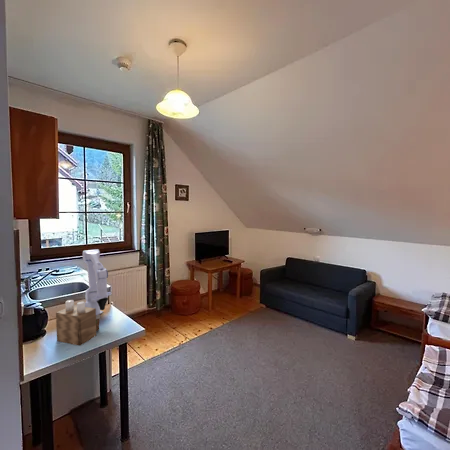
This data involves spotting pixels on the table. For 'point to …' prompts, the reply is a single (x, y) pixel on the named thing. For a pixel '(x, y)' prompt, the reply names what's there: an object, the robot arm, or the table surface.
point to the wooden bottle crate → (76, 326)
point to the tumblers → (79, 306)
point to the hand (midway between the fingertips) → (102, 309)
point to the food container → (97, 322)
